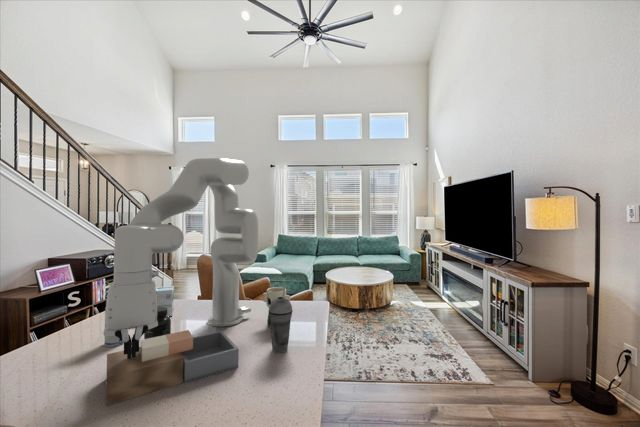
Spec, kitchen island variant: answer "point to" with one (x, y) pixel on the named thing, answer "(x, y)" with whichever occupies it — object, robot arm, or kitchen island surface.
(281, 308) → the beverage cup
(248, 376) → the kitchen island surface
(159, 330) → the supplement bottle
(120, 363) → the brown cardboard box
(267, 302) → the character mug
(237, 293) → the robot arm
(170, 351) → the tile
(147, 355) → the tile
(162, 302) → the light bulb box
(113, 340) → the energy drink
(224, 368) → the bin
